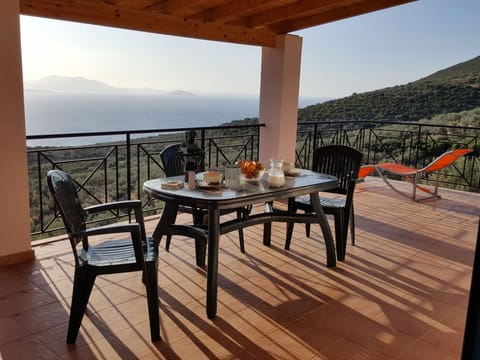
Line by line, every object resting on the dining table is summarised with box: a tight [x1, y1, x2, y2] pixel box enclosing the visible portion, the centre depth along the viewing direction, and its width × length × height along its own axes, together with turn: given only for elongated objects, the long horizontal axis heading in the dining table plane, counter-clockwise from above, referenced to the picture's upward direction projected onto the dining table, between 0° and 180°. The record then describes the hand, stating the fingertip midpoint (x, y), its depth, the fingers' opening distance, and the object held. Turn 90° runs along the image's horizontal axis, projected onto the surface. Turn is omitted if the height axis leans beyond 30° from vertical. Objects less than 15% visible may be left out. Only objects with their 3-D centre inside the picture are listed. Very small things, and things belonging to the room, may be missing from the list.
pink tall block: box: [187, 172, 196, 190], centre depth 282 cm, size 5×4×10 cm
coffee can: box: [224, 163, 242, 189], centre depth 289 cm, size 10×10×14 cm
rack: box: [160, 180, 185, 191], centre depth 283 cm, size 12×10×3 cm
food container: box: [207, 166, 225, 185], centre depth 301 cm, size 12×6×10 cm, turn 71°
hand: (191, 165), depth 286 cm, fingers open, 9 cm apart
